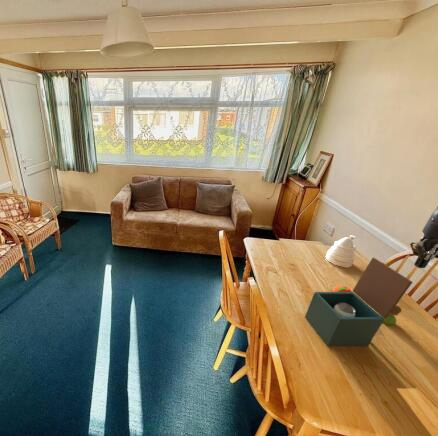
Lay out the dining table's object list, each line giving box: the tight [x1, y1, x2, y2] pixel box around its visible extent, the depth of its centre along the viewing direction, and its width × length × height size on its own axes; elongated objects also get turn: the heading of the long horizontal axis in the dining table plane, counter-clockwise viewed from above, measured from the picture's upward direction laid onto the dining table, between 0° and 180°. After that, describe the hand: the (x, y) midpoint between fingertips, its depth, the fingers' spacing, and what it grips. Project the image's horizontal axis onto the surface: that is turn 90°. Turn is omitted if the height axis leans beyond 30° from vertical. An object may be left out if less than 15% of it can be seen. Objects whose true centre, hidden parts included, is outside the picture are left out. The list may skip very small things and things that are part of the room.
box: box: [304, 291, 384, 347], centre depth 92 cm, size 16×14×14 cm
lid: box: [352, 257, 413, 318], centre depth 85 cm, size 17×14×1 cm
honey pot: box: [325, 234, 357, 268], centre depth 136 cm, size 13×13×18 cm
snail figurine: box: [379, 304, 402, 326], centre depth 96 cm, size 5×6×12 cm
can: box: [334, 302, 355, 317], centre depth 92 cm, size 6×6×12 cm
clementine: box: [333, 285, 353, 292], centre depth 110 cm, size 8×7×7 cm
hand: (419, 266), depth 81 cm, fingers closed
